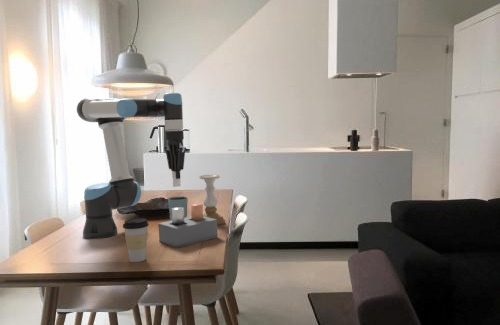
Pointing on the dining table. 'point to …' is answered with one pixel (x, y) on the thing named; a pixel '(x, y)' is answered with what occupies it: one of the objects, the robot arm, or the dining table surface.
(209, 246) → the dining table surface
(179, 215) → the silver rounded piece
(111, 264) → the dining table surface
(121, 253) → the dining table surface
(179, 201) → the drinking glass
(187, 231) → the block with square holes
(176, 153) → the robot arm
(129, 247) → the coffee cup
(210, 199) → the candle holder
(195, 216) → the brown egg
